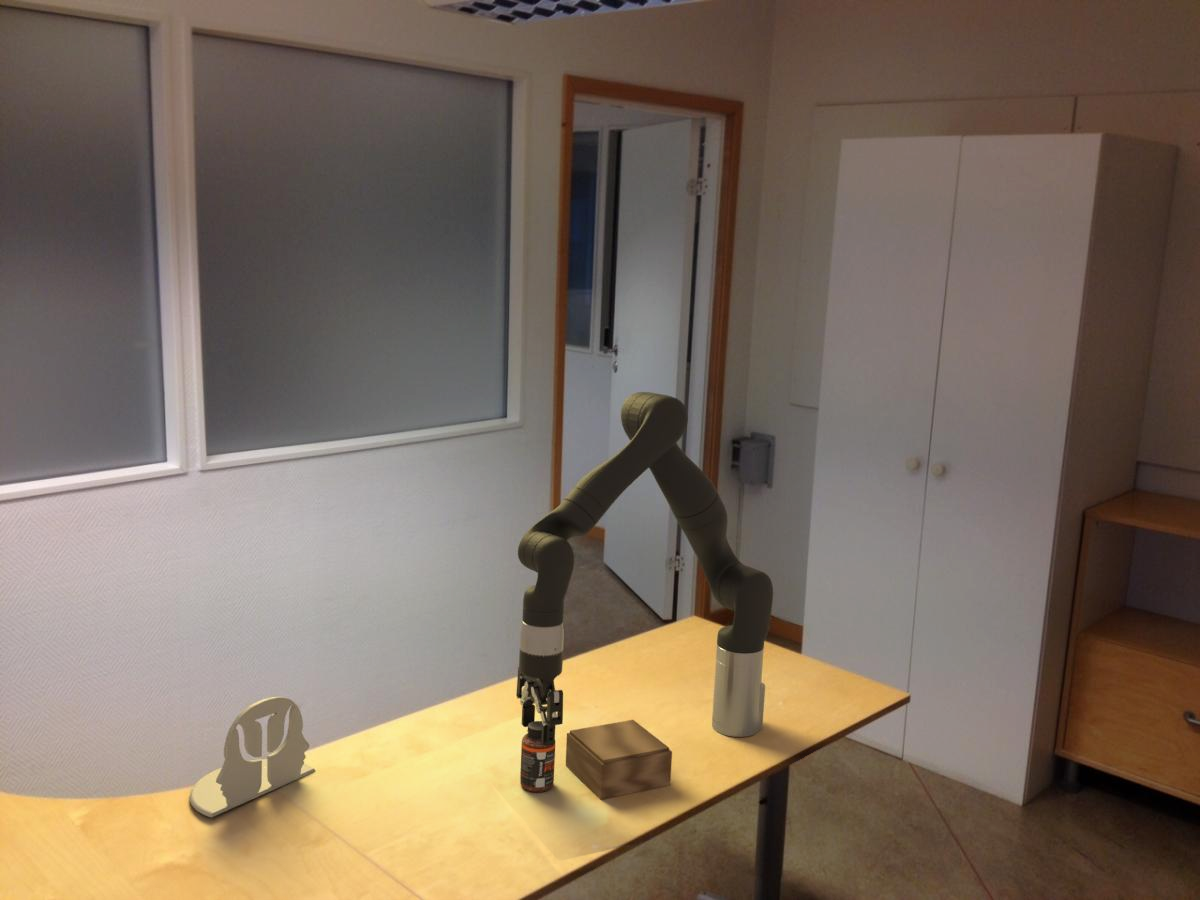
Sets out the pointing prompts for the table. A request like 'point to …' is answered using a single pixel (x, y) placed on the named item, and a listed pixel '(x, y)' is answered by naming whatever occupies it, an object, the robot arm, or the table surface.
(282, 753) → the ornament
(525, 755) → the supplement bottle
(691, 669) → the table surface
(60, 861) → the table surface
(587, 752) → the walnut block
